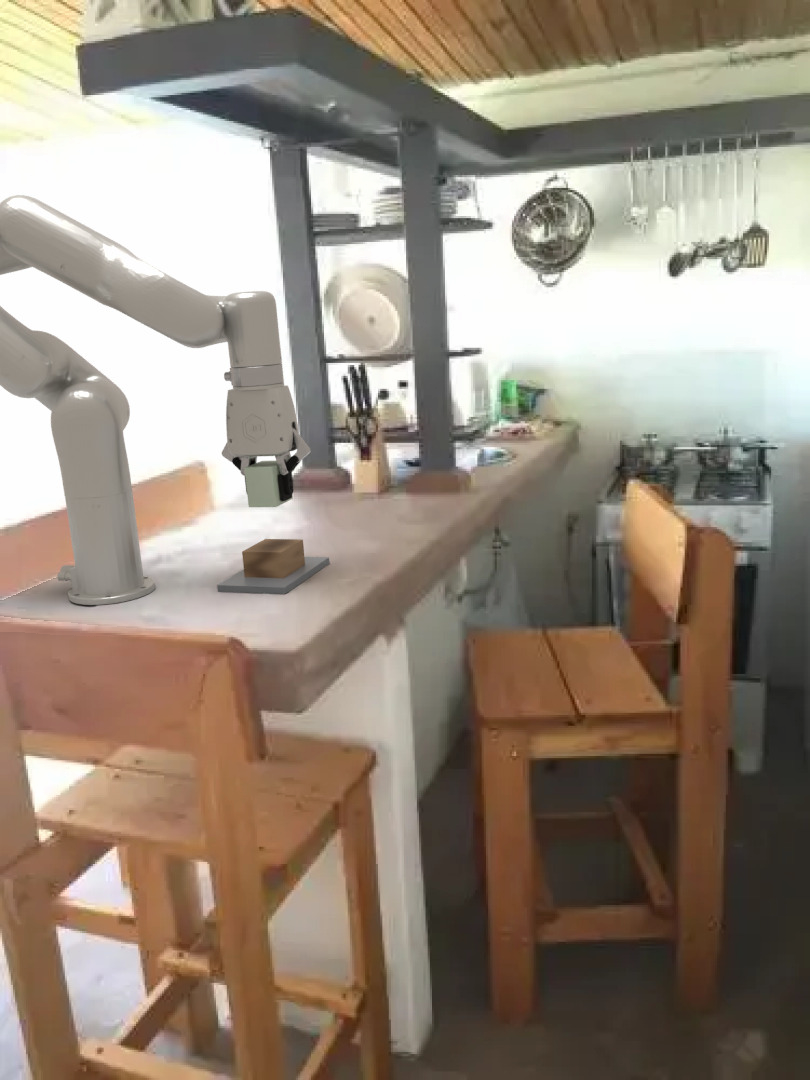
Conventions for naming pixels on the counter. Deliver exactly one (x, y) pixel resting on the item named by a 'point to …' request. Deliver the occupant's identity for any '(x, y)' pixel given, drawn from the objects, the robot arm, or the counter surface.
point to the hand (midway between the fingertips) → (270, 498)
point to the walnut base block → (273, 558)
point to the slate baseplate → (273, 579)
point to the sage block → (263, 484)
